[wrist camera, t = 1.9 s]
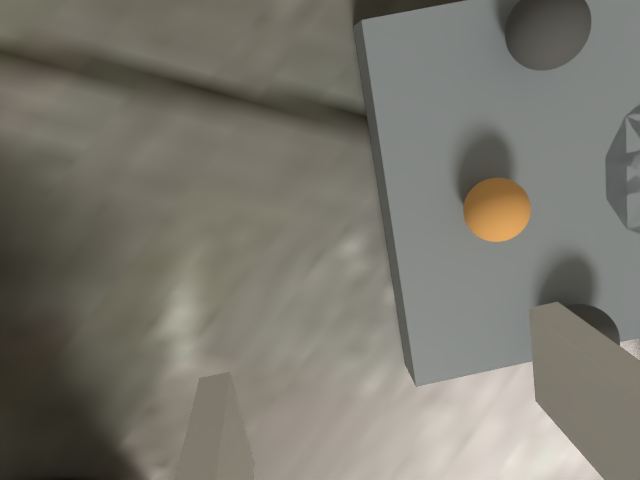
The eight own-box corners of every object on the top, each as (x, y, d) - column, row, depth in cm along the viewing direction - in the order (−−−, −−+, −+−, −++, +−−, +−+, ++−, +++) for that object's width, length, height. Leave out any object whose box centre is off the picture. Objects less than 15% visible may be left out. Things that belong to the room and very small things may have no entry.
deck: (405, 364, 33) (416, 386, 30) (353, 26, 27) (361, 20, 24) (737, 292, 33) (774, 308, 31) (755, -50, 28) (801, -63, 25)
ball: (457, 238, 28) (480, 255, 25) (450, 179, 27) (474, 190, 24) (515, 226, 28) (545, 242, 25) (510, 167, 27) (541, 177, 24)
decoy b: (535, 357, 30) (569, 391, 27) (531, 301, 29) (566, 328, 26) (594, 344, 31) (636, 376, 27) (592, 288, 30) (635, 314, 26)
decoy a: (495, 78, 26) (530, 75, 22) (488, 0, 25) (524, -15, 21) (565, 64, 26) (610, 60, 23) (561, -14, 25) (608, -31, 22)
